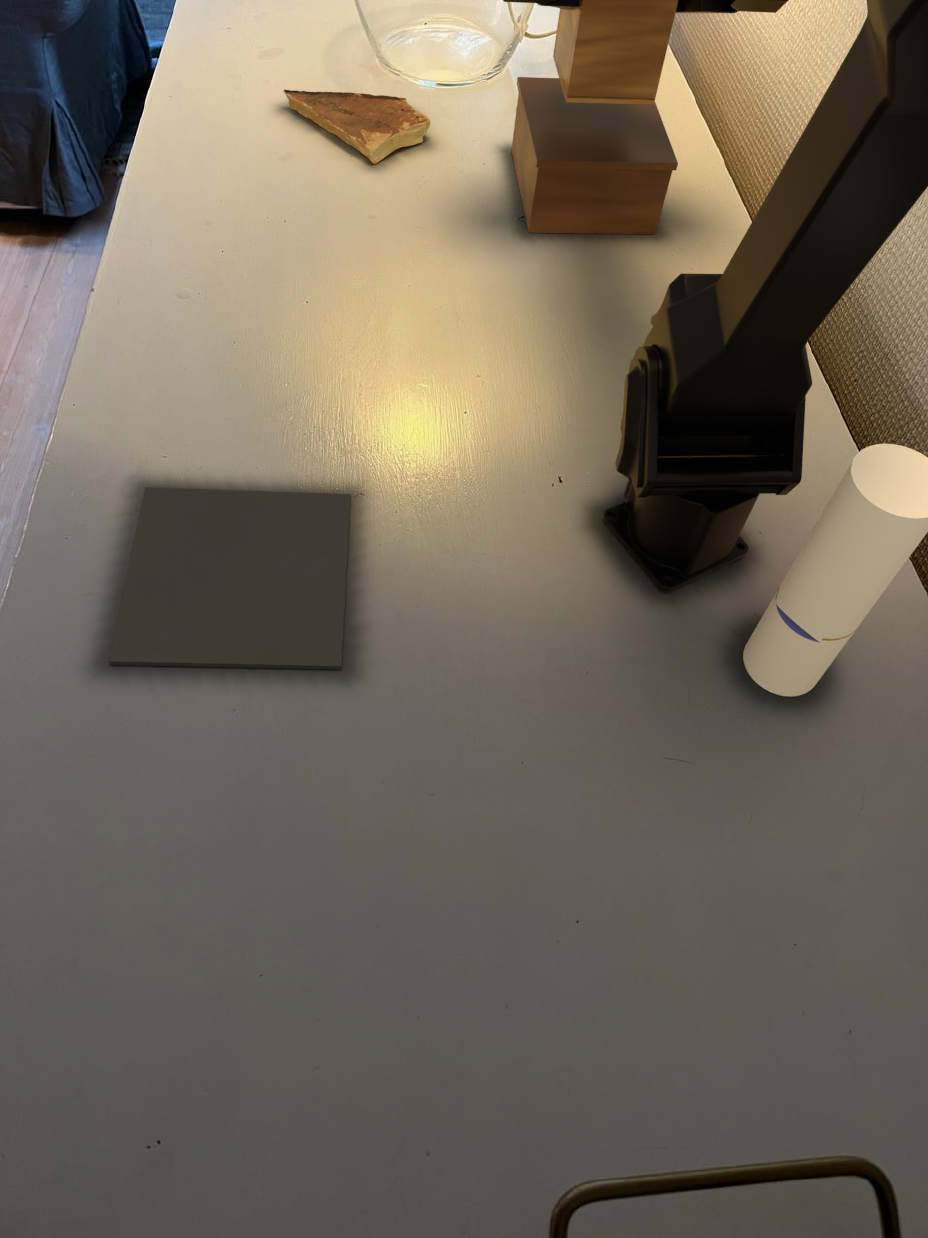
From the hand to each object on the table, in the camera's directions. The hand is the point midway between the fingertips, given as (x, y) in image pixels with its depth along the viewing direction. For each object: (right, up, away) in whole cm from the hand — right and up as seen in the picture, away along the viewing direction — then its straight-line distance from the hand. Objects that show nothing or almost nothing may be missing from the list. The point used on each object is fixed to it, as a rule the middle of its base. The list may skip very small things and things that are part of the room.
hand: (612, 2), depth 69 cm
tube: (+7, -45, -14) cm, 48 cm away
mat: (-23, -40, -13) cm, 48 cm away
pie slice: (-19, -3, +12) cm, 23 cm away
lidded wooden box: (-1, -9, +10) cm, 13 cm away
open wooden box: (0, -4, +3) cm, 5 cm away
